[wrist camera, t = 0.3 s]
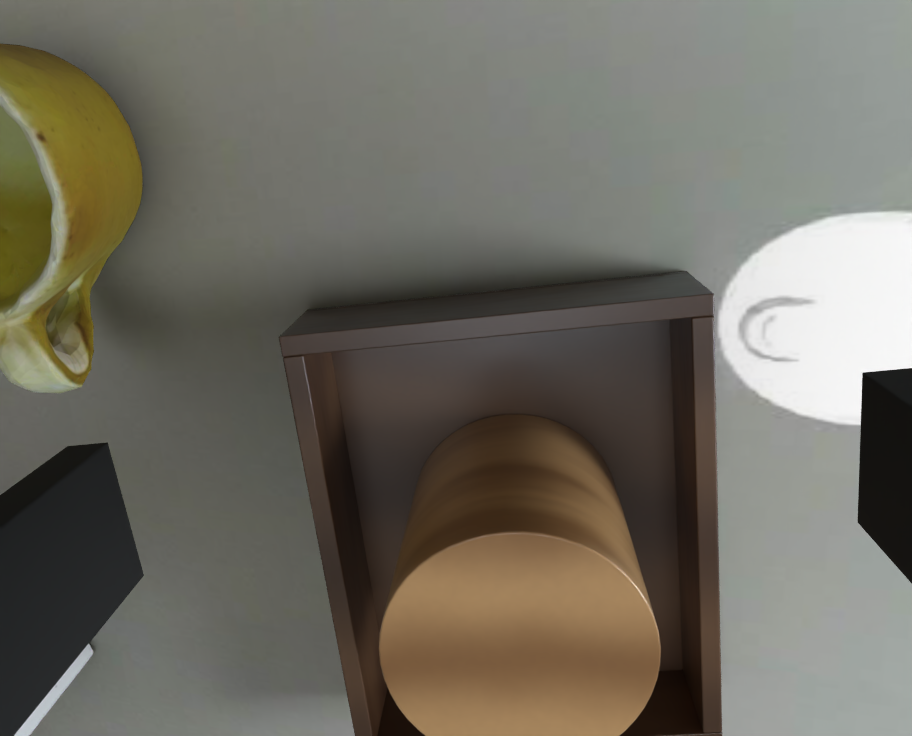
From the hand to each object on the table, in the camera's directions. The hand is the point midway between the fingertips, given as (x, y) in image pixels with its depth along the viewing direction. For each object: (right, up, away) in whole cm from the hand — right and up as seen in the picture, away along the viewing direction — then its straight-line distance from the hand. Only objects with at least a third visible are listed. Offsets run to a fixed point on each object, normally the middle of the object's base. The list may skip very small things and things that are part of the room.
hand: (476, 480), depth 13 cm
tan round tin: (+2, -4, +21) cm, 21 cm away
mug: (-16, +9, +18) cm, 26 cm away
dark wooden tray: (+2, -4, +21) cm, 22 cm away
